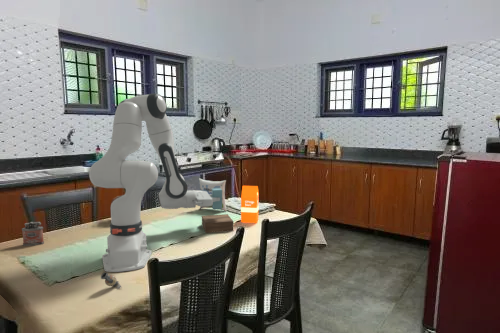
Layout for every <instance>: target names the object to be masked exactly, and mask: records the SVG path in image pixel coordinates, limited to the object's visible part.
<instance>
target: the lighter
mask: <svg viewBox="0 0 500 333" xmlns="http://www.w3.org/2000/svg"><path fill="white" fill-rule="evenodd" d="M41 225H42V222H41V221H30V222H26V223H24V226H25V227H23V228H21V231H22V241H23V242H22V246H23V247H25V246H26V247H29V246H31V247H32V246H41V245H43V244H45V241H44V231H43V230H44V227H43V226H41Z"/></svg>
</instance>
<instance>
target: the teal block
mask: <svg viewBox="0 0 500 333" xmlns="http://www.w3.org/2000/svg"><path fill="white" fill-rule="evenodd" d="M212 197H213V198H215V197H219V198H220V201H216V202H213V205H212V208H211V209H212V210H215V211H216V210H221V209H222V189H221V188H215V189H212Z"/></svg>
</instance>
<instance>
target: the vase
mask: <svg viewBox="0 0 500 333" xmlns="http://www.w3.org/2000/svg"><path fill="white" fill-rule="evenodd" d="M108 274H109V272H107V271H104V272H102V274H101V275H100V279H101V280H104V283H105V285H106V286H108V287H112V288H115V289H116V291H118V290H119V289H123V287H122V285H121V284H120V282H119V281H118V280H117V277H116V276H115V275H114V274H109V275H108Z"/></svg>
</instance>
